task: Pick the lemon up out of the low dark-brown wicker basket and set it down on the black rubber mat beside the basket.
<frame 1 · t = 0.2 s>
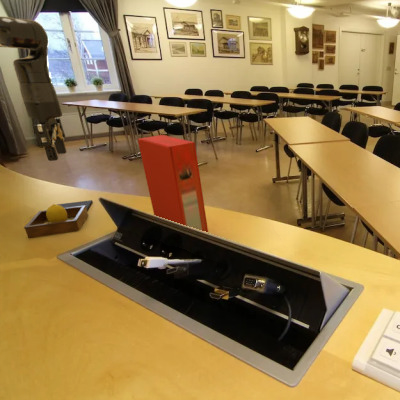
hand: (58, 156, 95), 27 cm above the table, tool pointing down, fingers open, 8 cm apart
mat: (72, 209, 125), on the table
lemon: (60, 226, 112), resting in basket
file binder: (183, 238, 104), on the table
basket: (60, 225, 112), on the table
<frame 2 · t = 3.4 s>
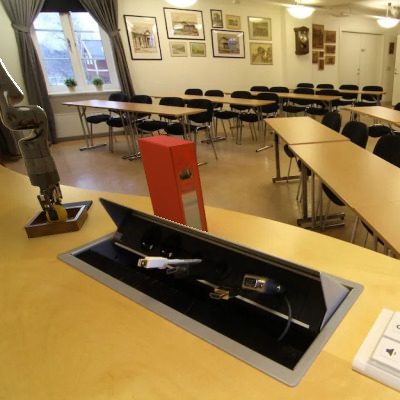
hand: (57, 216, 110), 4 cm above the table, tool pointing down, fingers closed on lemon, 5 cm apart
lemon: (60, 226, 112), resting in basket, touching gripper
everything else where it was.
when the fingers open (5 cm above the table, at t = 10.7 s): lemon stays where it is, resting on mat.
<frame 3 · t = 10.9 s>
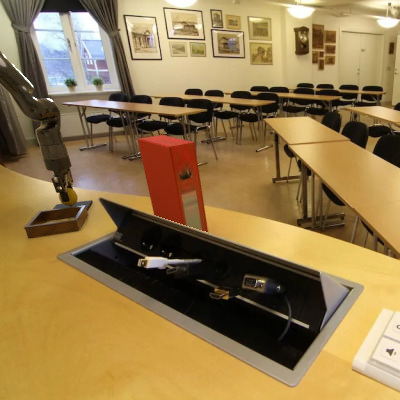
hand: (68, 198, 123), 5 cm above the table, tool pointing down, fingers open, 6 cm apart
lemon: (71, 207, 125), point 1 cm above the table, touching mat
everything else where it was.
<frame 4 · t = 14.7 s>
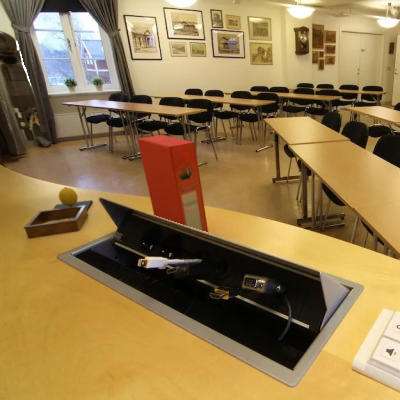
hand: (35, 138, 122), 26 cm above the table, tool pointing down, fingers open, 8 cm apart
nothing on the table moved.
at the end: lemon inside the target area on the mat (0.1 cm from its centre), point 0.8 cm above the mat's base; lemon touching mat; the gripper is holding nothing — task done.
